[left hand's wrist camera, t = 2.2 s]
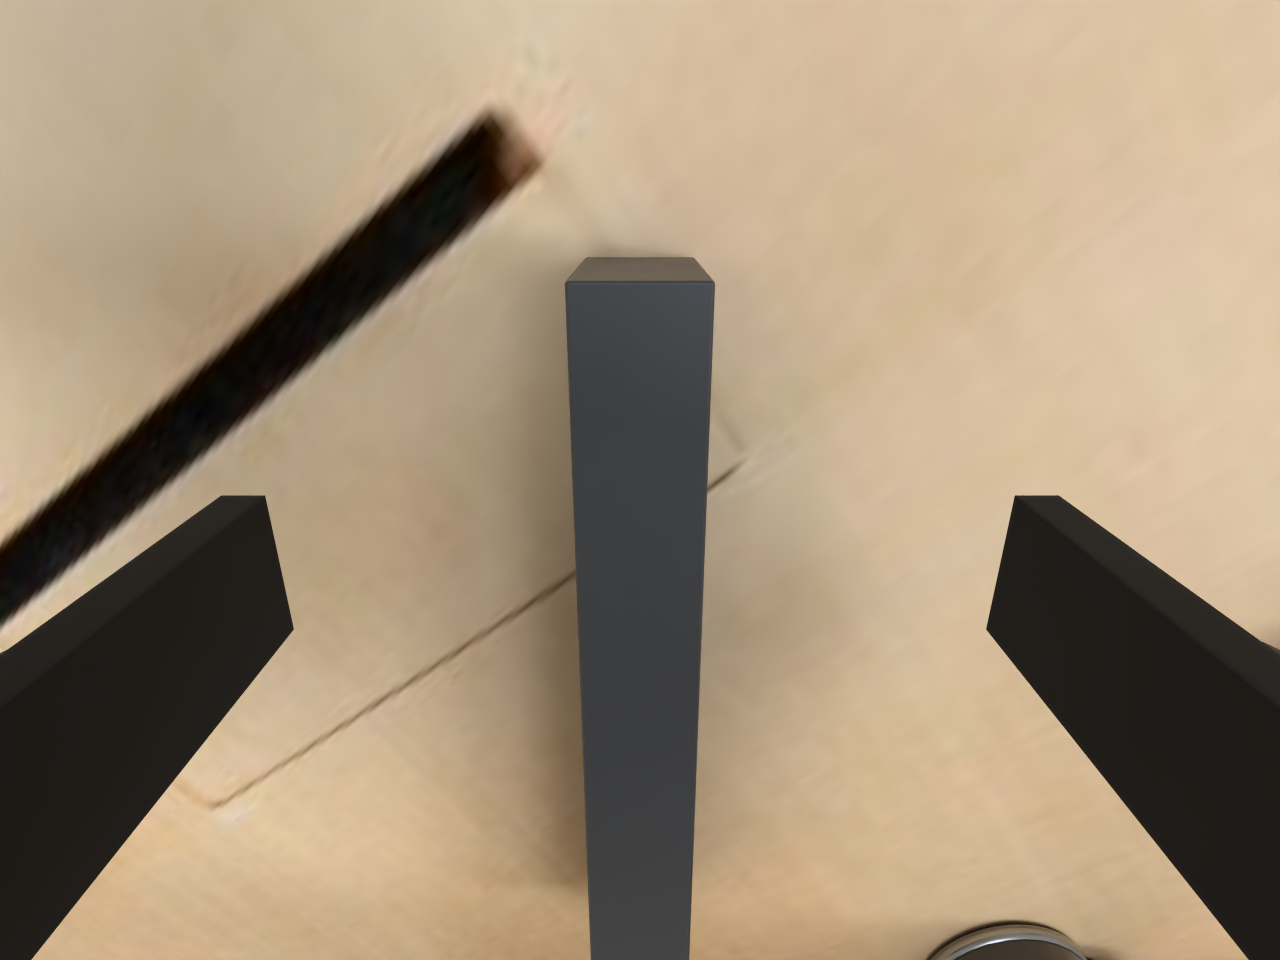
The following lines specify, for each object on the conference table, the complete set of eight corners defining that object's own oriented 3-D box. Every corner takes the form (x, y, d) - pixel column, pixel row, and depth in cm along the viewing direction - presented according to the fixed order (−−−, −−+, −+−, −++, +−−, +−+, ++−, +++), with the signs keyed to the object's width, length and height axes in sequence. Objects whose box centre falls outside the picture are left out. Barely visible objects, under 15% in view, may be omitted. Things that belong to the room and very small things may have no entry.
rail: (584, 257, 26) (564, 280, 19) (695, 257, 26) (715, 281, 19) (602, 885, 38) (593, 1042, 31) (677, 886, 38) (686, 1042, 31)
